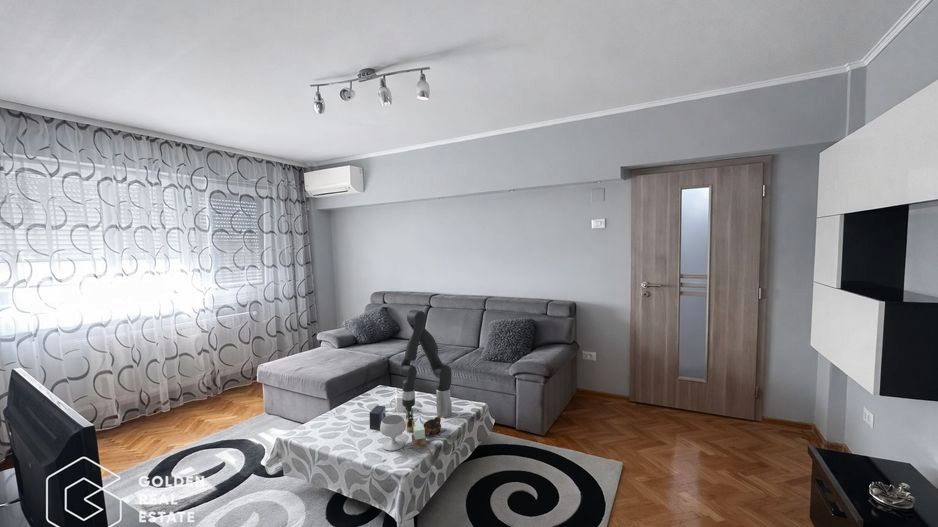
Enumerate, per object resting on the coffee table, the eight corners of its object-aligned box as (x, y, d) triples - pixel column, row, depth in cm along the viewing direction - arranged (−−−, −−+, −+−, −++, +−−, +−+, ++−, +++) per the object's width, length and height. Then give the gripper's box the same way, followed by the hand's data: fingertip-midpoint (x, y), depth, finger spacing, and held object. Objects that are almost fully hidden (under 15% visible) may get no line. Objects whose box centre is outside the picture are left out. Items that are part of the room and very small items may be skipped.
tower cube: (423, 433, 219) (423, 424, 219) (424, 438, 214) (424, 429, 213) (413, 434, 217) (413, 426, 217) (415, 439, 212) (414, 430, 212)
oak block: (413, 427, 236) (413, 417, 236) (414, 430, 232) (414, 421, 231) (405, 428, 235) (405, 418, 235) (406, 432, 230) (406, 422, 230)
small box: (379, 430, 233) (378, 413, 233) (369, 429, 235) (368, 412, 234) (386, 421, 244) (385, 405, 243) (376, 421, 245) (376, 405, 244)
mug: (407, 406, 266) (406, 392, 265) (408, 411, 257) (407, 397, 256) (389, 408, 263) (388, 394, 262) (389, 413, 254) (389, 399, 254)
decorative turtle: (446, 428, 233) (445, 416, 232) (432, 442, 220) (431, 429, 219) (432, 424, 238) (432, 412, 237) (418, 437, 225) (417, 424, 224)
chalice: (411, 444, 216) (410, 418, 215) (391, 455, 206) (390, 428, 205) (396, 436, 226) (395, 411, 225) (375, 446, 215) (374, 420, 214)
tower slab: (424, 440, 220) (423, 432, 220) (426, 447, 214) (426, 438, 213) (411, 443, 218) (411, 434, 218) (414, 449, 212) (413, 440, 211)
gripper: (416, 401, 226) (417, 427, 227) (412, 392, 240) (413, 417, 241) (404, 402, 224) (404, 429, 225) (400, 393, 238) (401, 419, 239)
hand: (409, 423), depth 233 cm, fingers open, 8 cm apart
